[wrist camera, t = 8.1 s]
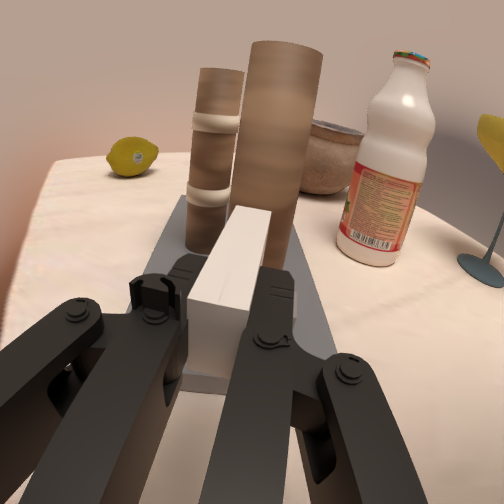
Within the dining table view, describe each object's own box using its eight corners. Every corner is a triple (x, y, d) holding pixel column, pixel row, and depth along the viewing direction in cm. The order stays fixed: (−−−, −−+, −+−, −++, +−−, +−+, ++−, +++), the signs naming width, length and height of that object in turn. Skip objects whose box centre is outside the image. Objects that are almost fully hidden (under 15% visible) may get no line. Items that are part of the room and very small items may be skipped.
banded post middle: (224, 238, 35) (245, 74, 26) (223, 257, 31) (246, 71, 23) (187, 234, 35) (201, 70, 26) (180, 253, 31) (195, 66, 22)
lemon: (106, 182, 53) (106, 141, 49) (106, 172, 59) (106, 135, 55) (160, 179, 58) (162, 139, 54) (155, 169, 64) (157, 133, 60)
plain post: (268, 339, 21) (326, 49, 13) (211, 327, 21) (247, 37, 13) (273, 305, 24) (320, 61, 16) (223, 295, 24) (256, 51, 16)
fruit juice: (359, 271, 37) (415, 43, 23) (322, 236, 44) (362, 43, 31) (408, 265, 40) (460, 72, 27) (370, 234, 48) (410, 65, 34)
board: (284, 218, 48) (290, 187, 46) (336, 396, 20) (361, 350, 18) (180, 207, 46) (182, 175, 44) (112, 379, 19) (98, 328, 16)
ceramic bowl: (249, 169, 72) (258, 108, 65) (331, 178, 77) (343, 123, 70) (274, 203, 53) (288, 118, 46) (376, 212, 59) (395, 141, 51)
